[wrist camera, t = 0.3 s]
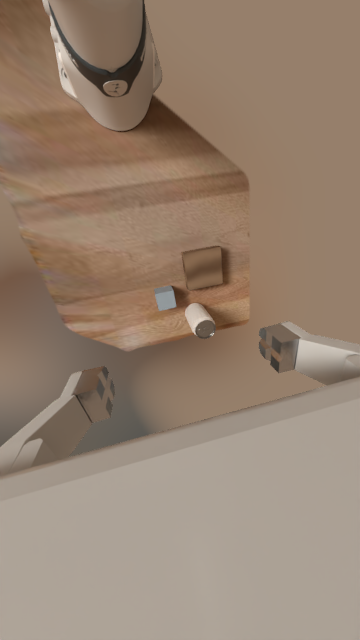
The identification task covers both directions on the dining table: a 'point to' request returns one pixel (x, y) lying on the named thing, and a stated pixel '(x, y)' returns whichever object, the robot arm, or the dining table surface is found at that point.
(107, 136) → the dining table surface
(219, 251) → the walnut block
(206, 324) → the can
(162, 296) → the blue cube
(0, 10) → the dining table surface
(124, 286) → the dining table surface
